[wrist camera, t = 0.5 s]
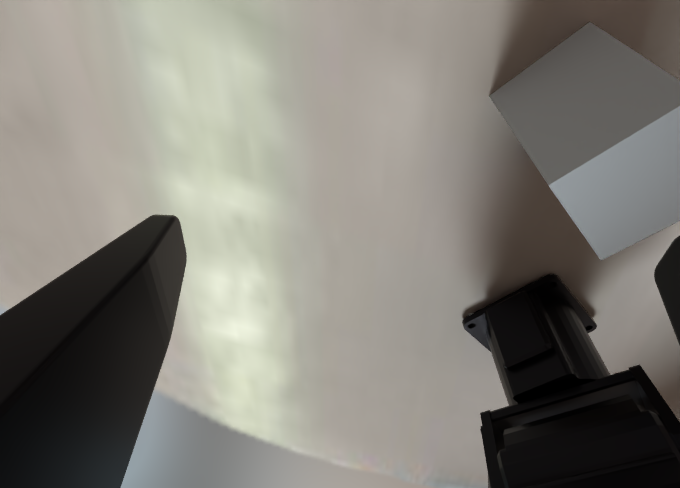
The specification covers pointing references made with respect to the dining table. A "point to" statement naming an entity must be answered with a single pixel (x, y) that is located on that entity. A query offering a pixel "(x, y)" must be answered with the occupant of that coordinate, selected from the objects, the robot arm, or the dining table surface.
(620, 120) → the grey rectangular box
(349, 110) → the dining table surface
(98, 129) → the dining table surface
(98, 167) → the dining table surface
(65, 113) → the dining table surface
